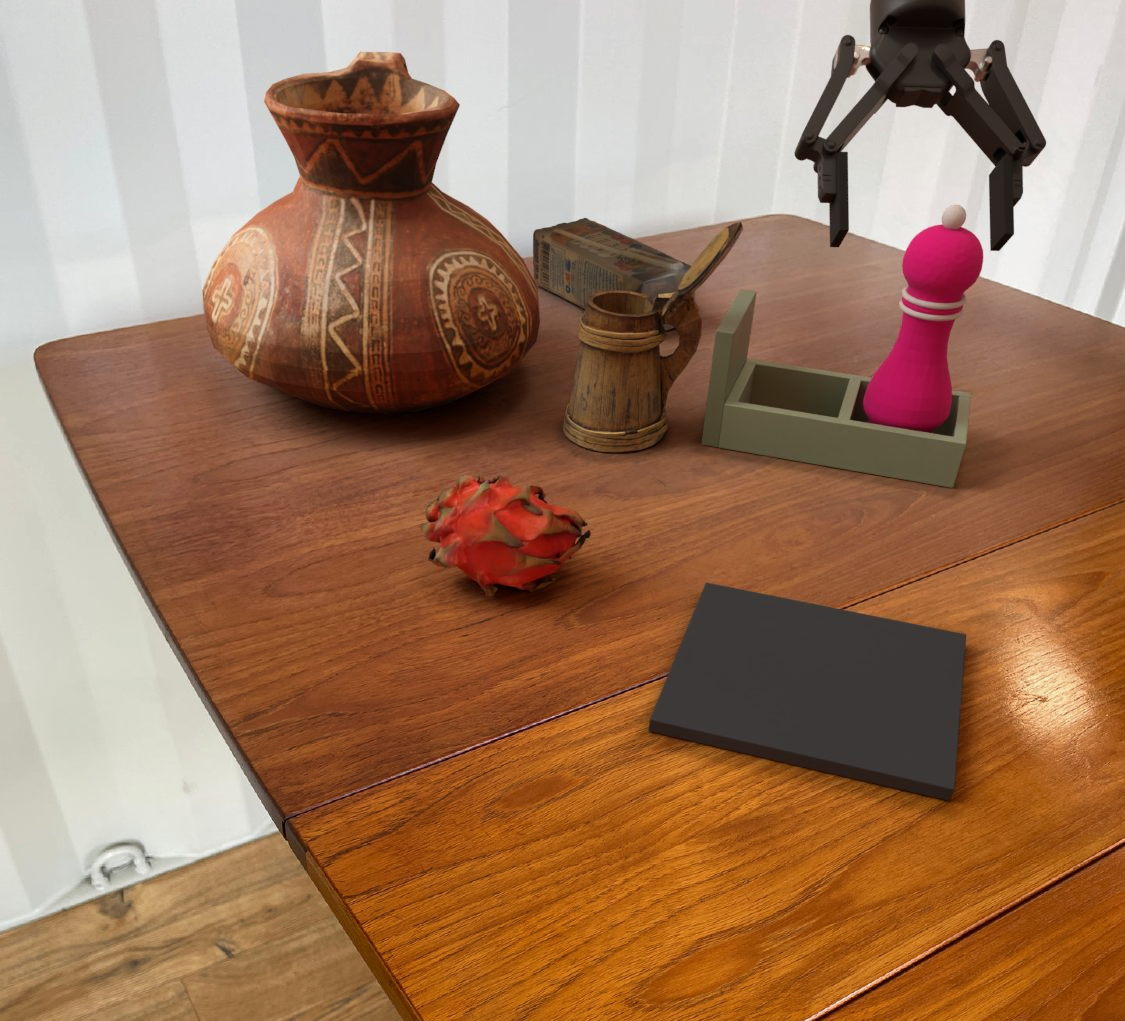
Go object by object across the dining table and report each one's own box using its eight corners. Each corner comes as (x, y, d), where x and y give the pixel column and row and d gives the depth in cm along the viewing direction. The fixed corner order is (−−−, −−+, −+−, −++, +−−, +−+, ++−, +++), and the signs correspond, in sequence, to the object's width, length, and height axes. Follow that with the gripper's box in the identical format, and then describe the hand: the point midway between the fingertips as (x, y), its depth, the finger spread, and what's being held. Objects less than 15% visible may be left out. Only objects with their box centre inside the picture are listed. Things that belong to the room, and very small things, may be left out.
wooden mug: (713, 463, 92) (743, 240, 80) (556, 448, 93) (563, 226, 81) (716, 418, 99) (744, 205, 87) (569, 404, 100) (577, 193, 88)
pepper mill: (932, 476, 92) (1003, 225, 78) (847, 460, 93) (902, 211, 80) (940, 440, 97) (1009, 198, 83) (859, 426, 98) (914, 187, 85)
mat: (962, 645, 74) (966, 633, 73) (950, 801, 62) (954, 789, 62) (704, 593, 77) (705, 581, 77) (648, 731, 66) (649, 719, 65)
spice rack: (958, 435, 98) (991, 324, 91) (952, 488, 90) (988, 371, 84) (725, 397, 102) (740, 288, 96) (701, 445, 95) (715, 330, 88)
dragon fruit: (412, 589, 79) (572, 610, 81) (412, 584, 71) (590, 607, 73) (425, 472, 79) (587, 495, 80) (426, 453, 70) (606, 479, 72)
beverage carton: (637, 341, 112) (642, 275, 107) (528, 286, 123) (528, 224, 118) (694, 325, 115) (701, 260, 111) (583, 273, 126) (586, 212, 122)
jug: (586, 423, 97) (601, 106, 80) (247, 474, 88) (185, 130, 72) (480, 306, 118) (475, 34, 101) (197, 338, 109) (139, 45, 92)
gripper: (1041, 29, 94) (1046, 266, 93) (757, 19, 93) (760, 260, 92) (1086, -38, 87) (1093, 219, 86) (779, -49, 86) (782, 212, 84)
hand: (921, 241), depth 89 cm, fingers open, 13 cm apart
